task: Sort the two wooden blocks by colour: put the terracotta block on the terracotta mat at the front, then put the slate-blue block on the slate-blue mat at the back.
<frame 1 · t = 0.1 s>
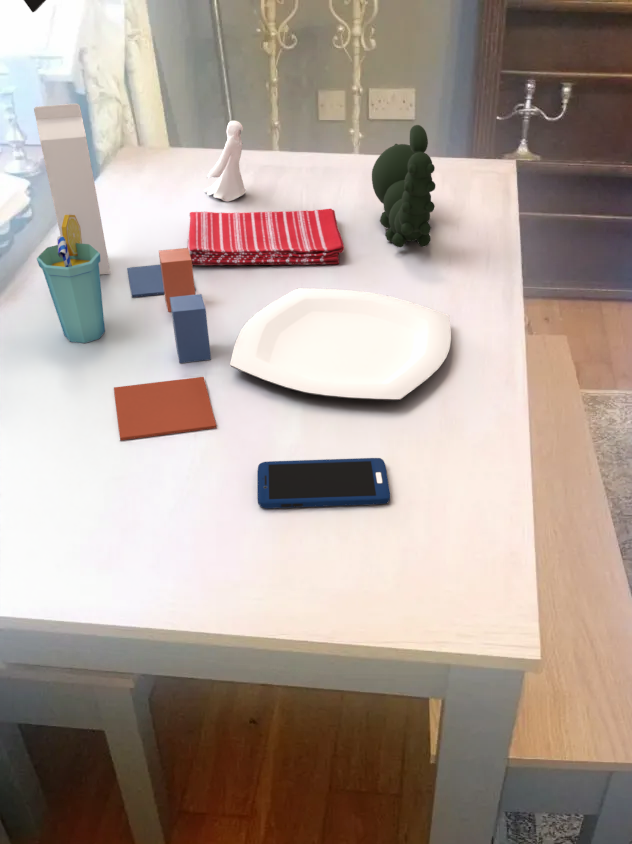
hand: (12, 18, 101), 34 cm above the table, tool tilted 35°, fingers open, 13 cm apart
plate: (343, 353, 116), on the table
blue block: (193, 353, 116), on the table
blue mat: (160, 280, 131), on the table
terracotta block: (181, 304, 125), on the table
milk: (88, 268, 134), on the table
terracotta mat: (164, 408, 107), on the table
figurine: (225, 196, 154), on the table
cup: (85, 337, 119), on the table
dish towel: (264, 244, 140), on the table, touching blue mat
toy figurine: (403, 232, 143), on the table
cell phone: (322, 486, 96), on the table
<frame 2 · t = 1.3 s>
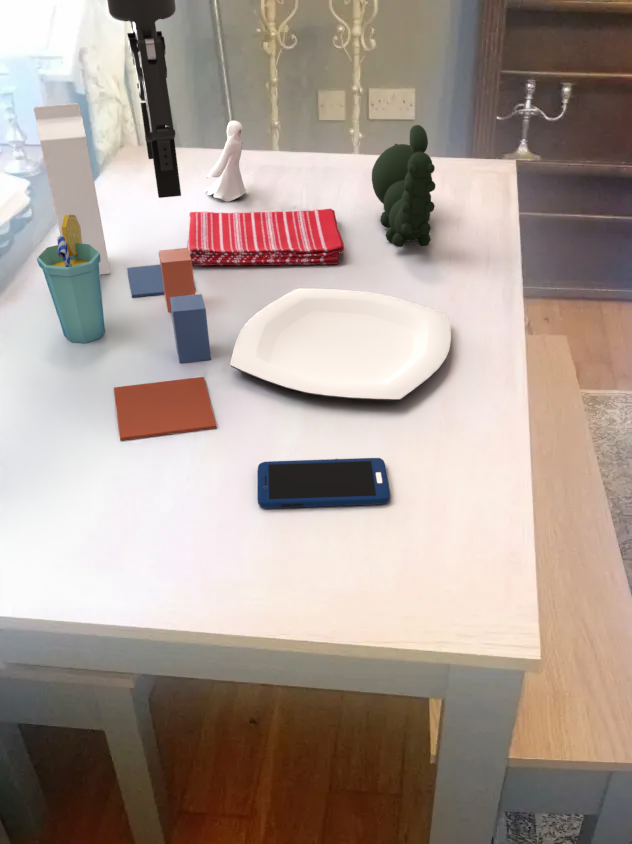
hand: (164, 176, 113), 17 cm above the table, tool pointing down, fingers open, 13 cm apart
nothing on the table moved.
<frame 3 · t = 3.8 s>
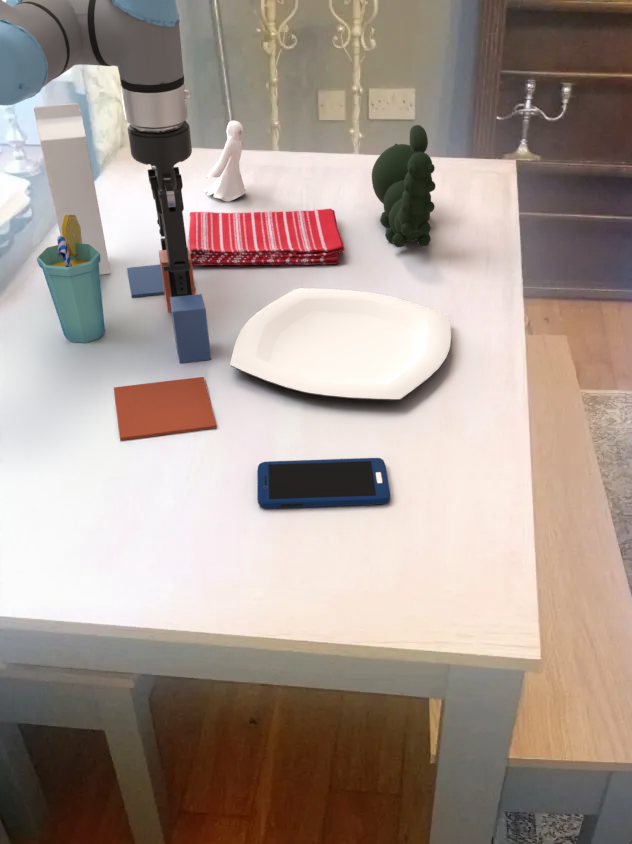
hand: (180, 297, 125), 1 cm above the table, tool pointing down, fingers open, 8 cm apart
nothing on the table moved.
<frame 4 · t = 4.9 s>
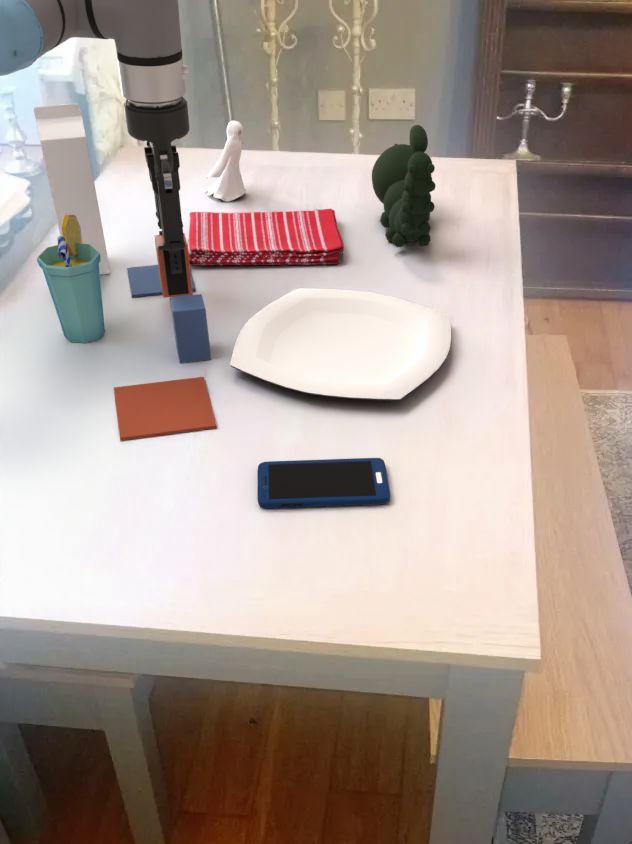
hand: (176, 285, 123), 3 cm above the table, tool pointing down, fingers closed on terracotta block, 4 cm apart
terracotta block: (176, 290, 124), point 2 cm above the table, touching gripper
everything else where it was.
when the fingers open (1 cm above the table, at t = 11.3 s): terracotta block stays where it is, resting on terracotta mat.
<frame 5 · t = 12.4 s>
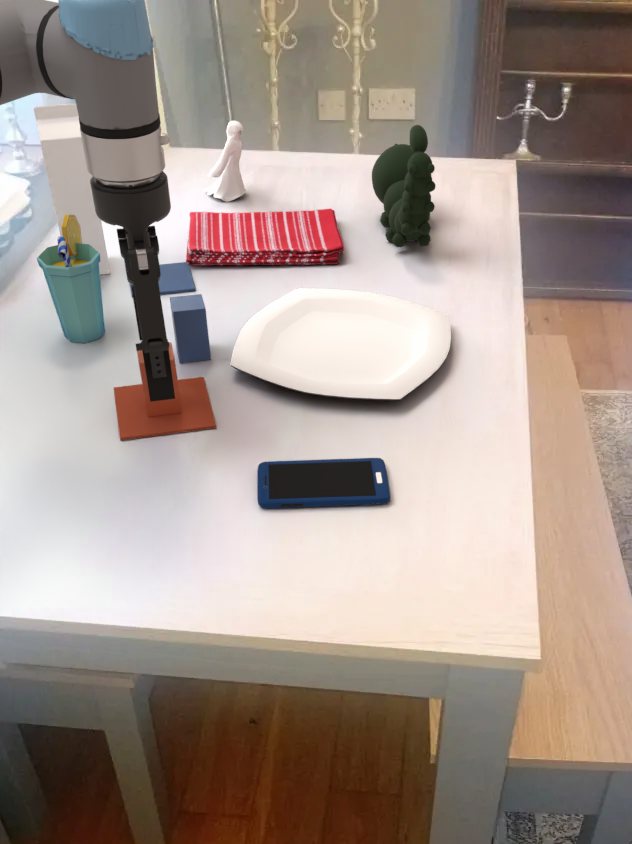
hand: (156, 367, 103), 5 cm above the table, tool pointing down, fingers open, 13 cm apart
terracotta block: (163, 405, 106), resting on terracotta mat
everything else where it was.
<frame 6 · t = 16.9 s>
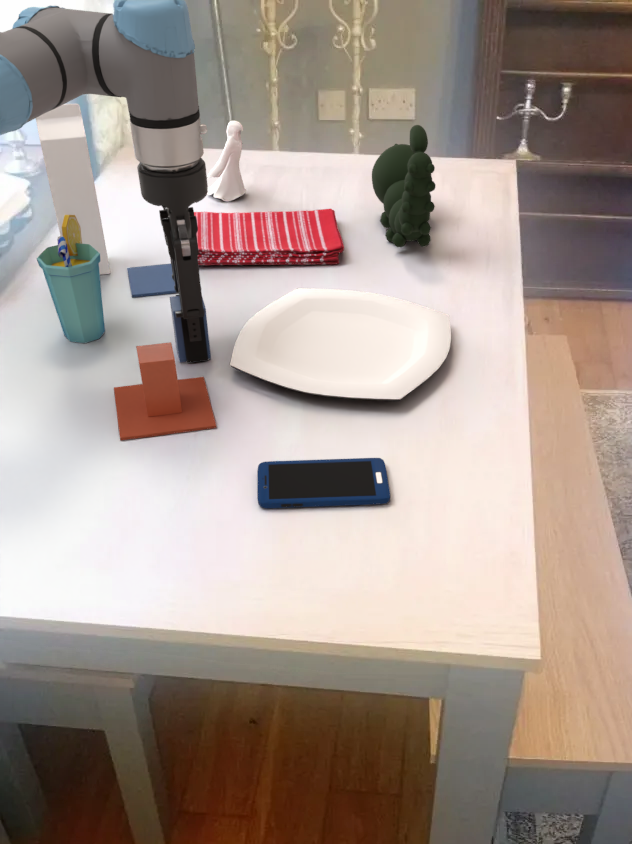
hand: (194, 350, 116), 0 cm above the table, tool pointing down, fingers closed on blue block, 4 cm apart
blue block: (193, 353, 116), on the table, touching gripper
everything else where it was.
when the fingers open (1 cm above the table, at t = 23.6 s): blue block stays where it is, resting on blue mat.
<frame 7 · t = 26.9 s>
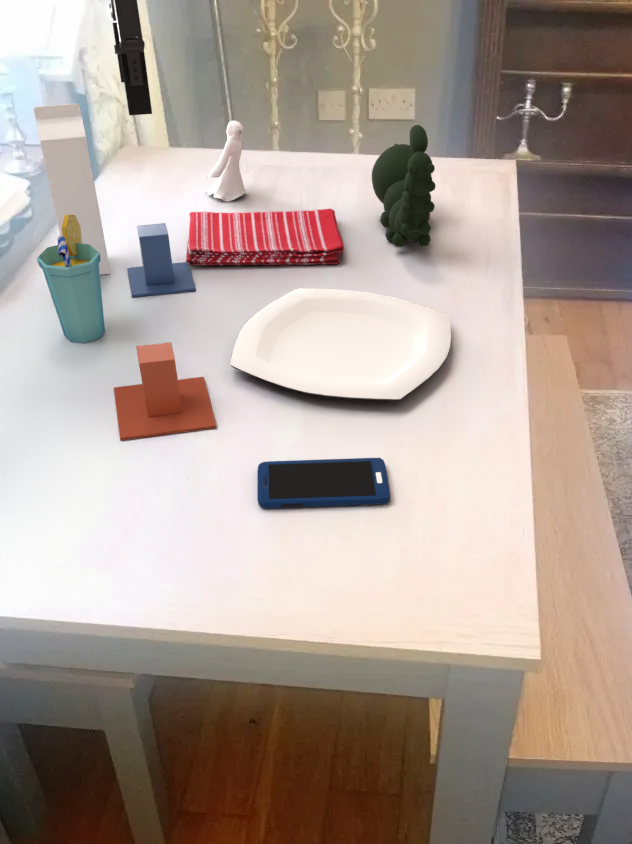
hand: (136, 97, 112), 25 cm above the table, tool pointing down, fingers open, 13 cm apart
blue block: (159, 277, 130), resting on blue mat
everything else where it was.
at the end: terracotta block inside the target area on the terracotta mat (0.0 cm from its centre), point 0.4 cm above the terracotta mat's base; blue block inside the target area on the blue mat (0.2 cm from its centre), point 0.4 cm above the blue mat's base; terracotta block tilted 0° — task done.
